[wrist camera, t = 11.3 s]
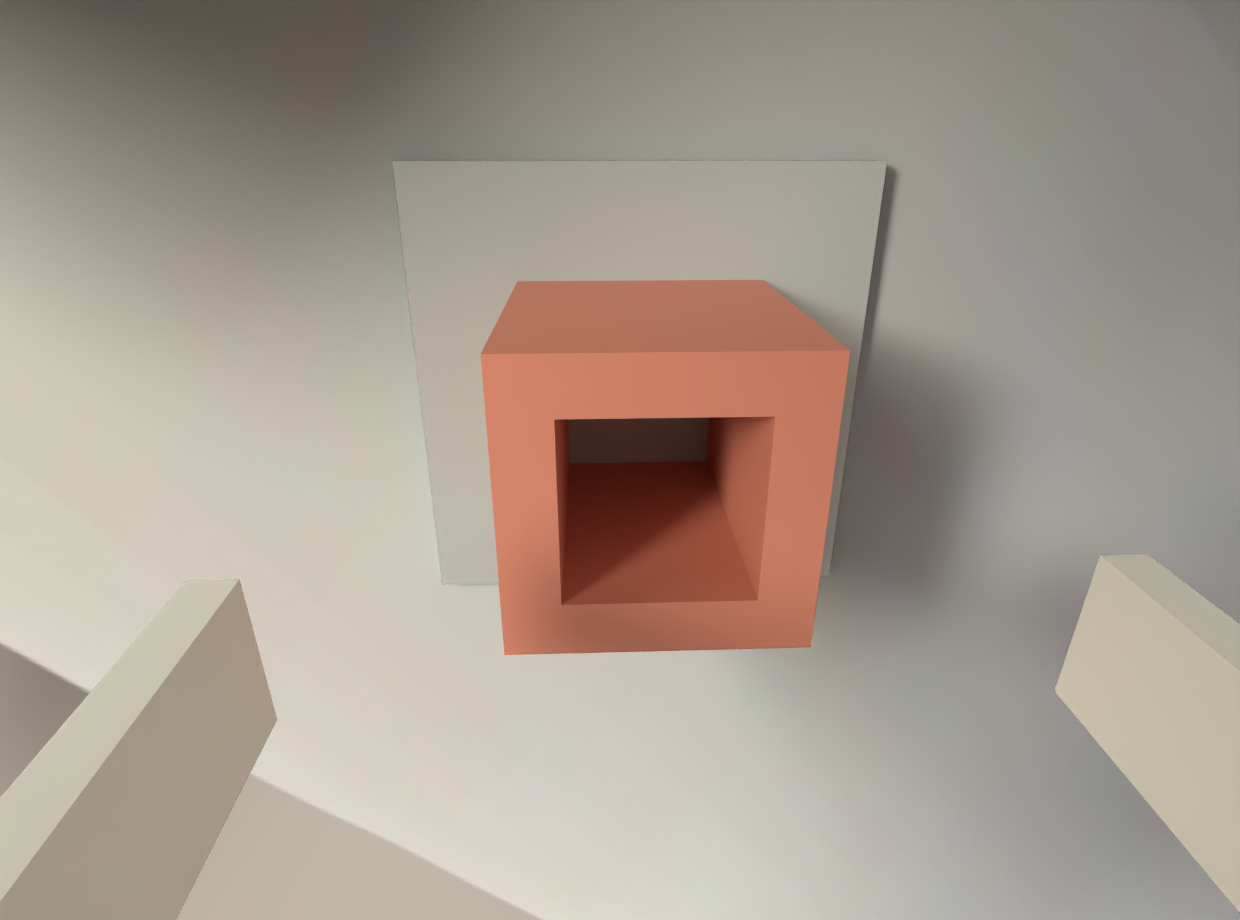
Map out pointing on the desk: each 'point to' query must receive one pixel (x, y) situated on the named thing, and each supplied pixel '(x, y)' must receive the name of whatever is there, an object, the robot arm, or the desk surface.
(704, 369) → the salmon square sleeve
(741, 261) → the coaster
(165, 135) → the desk surface
